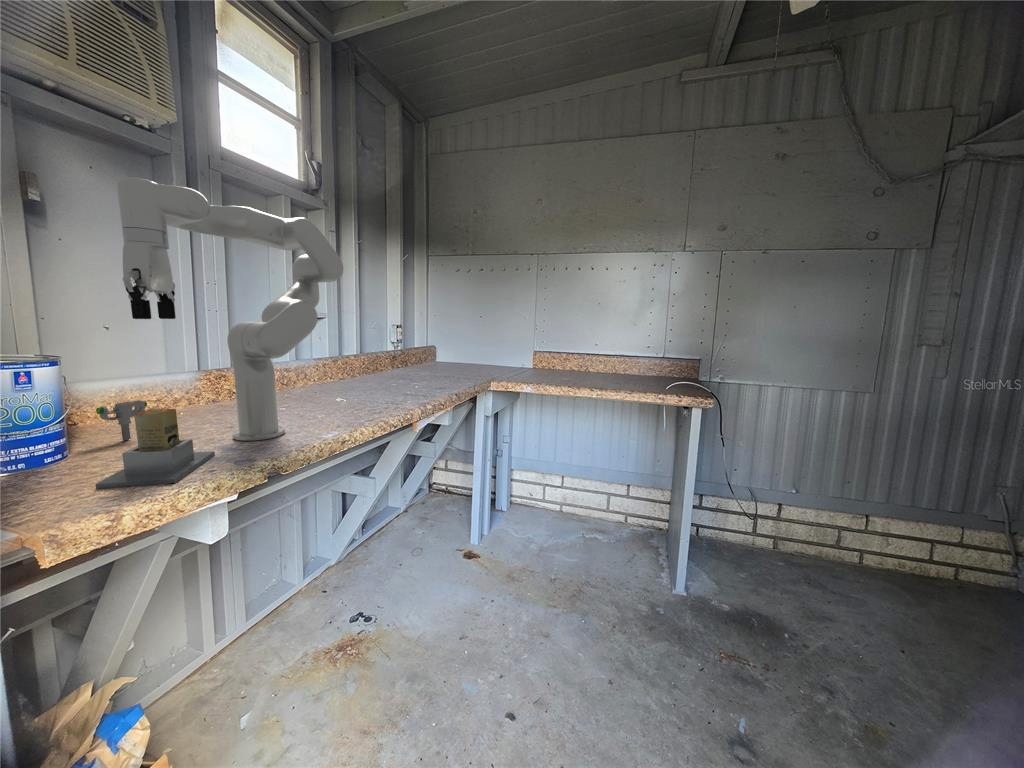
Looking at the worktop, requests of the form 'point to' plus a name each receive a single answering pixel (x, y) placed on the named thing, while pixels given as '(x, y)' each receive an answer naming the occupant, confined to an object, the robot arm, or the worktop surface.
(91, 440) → the worktop surface
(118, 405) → the mechanical component
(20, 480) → the worktop surface
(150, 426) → the shoe polish box
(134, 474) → the holder
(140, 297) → the robot arm
